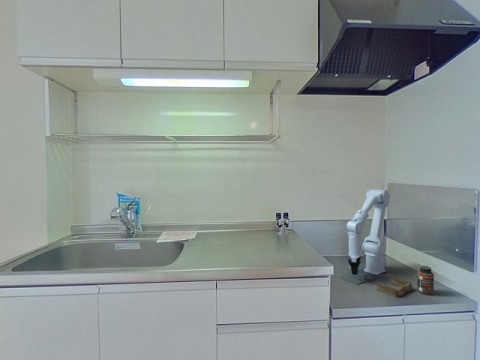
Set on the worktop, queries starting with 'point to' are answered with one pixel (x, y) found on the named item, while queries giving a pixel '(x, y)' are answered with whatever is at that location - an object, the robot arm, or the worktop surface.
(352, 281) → the mat
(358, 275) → the block
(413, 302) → the worktop surface
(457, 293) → the worktop surface
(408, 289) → the arch frame
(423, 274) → the supplement bottle
